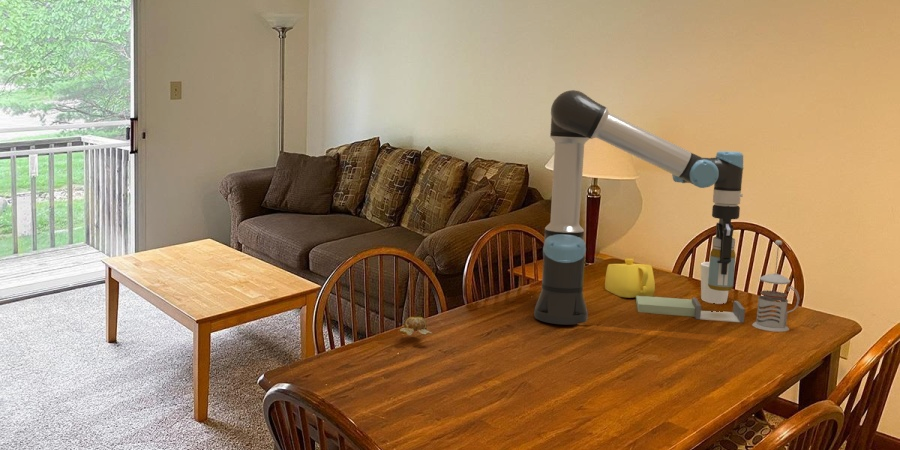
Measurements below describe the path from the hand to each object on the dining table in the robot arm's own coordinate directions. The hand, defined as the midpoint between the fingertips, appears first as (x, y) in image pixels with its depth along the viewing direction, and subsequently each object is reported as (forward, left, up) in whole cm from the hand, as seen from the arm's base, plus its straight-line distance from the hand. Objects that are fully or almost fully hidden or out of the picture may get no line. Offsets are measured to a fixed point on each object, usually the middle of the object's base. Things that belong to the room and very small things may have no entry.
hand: (720, 282), depth 233 cm
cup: (+1, +16, -10) cm, 20 cm away
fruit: (-80, -47, -12) cm, 94 cm away
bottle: (0, 0, -2) cm, 2 cm away
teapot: (-25, +17, -10) cm, 32 cm away
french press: (+14, -8, -11) cm, 19 cm away
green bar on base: (-10, +1, -10) cm, 15 cm away
